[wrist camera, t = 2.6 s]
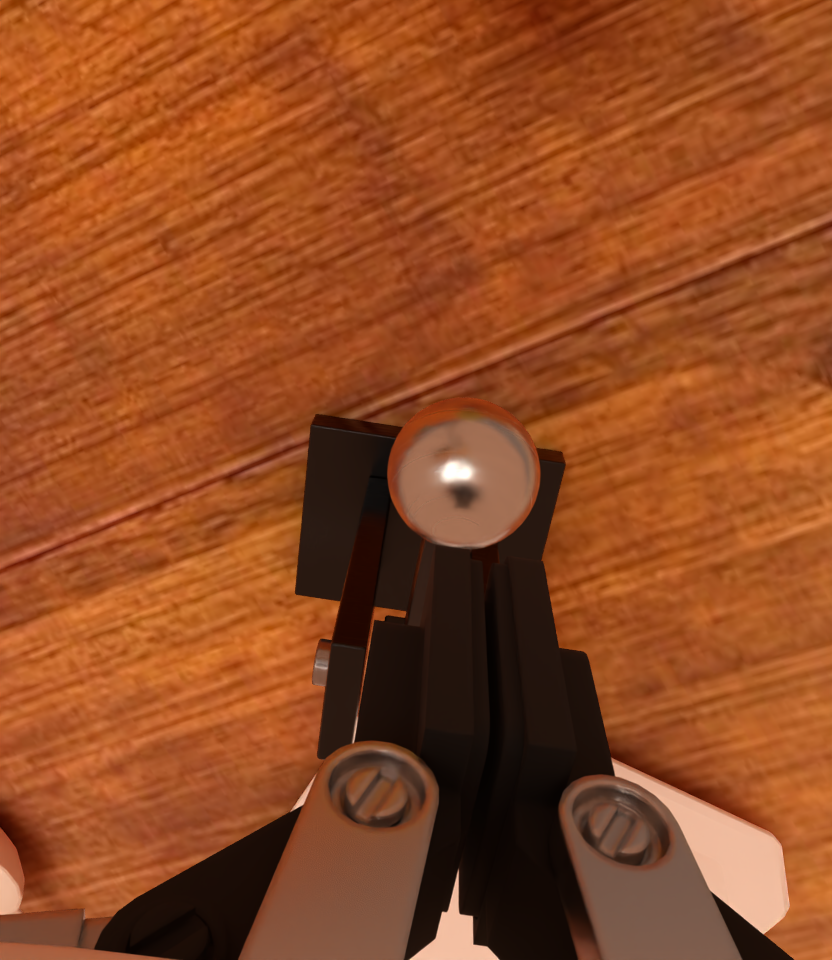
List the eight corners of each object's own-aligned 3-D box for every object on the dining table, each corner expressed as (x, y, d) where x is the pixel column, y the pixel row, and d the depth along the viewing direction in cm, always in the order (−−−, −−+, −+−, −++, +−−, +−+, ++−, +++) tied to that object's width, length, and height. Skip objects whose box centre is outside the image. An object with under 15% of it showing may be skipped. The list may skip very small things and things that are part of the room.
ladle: (-55, 749, 40) (-102, 839, 36) (256, 977, 54) (248, 1058, 50) (-146, 788, 41) (-201, 879, 37) (182, 1000, 56) (168, 1081, 52)
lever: (404, 354, 16) (384, 473, 14) (556, 378, 16) (558, 500, 14) (365, 642, 27) (350, 735, 25) (459, 655, 27) (453, 749, 25)
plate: (398, 633, 36) (394, 664, 34) (825, 836, 40) (844, 874, 38) (197, 929, 46) (186, 967, 44) (556, 1066, 50) (560, 1106, 48)
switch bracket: (315, 413, 32) (243, 575, 21) (562, 451, 32) (615, 631, 21) (299, 579, 35) (231, 790, 25) (521, 613, 35) (549, 836, 25)
